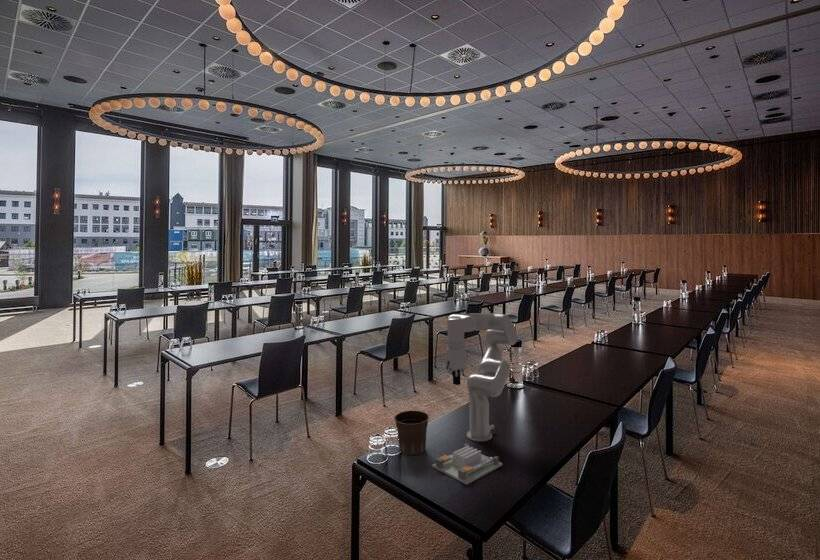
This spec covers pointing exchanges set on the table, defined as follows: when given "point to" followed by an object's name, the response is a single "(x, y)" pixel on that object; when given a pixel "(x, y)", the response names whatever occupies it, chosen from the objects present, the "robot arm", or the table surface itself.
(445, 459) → the strap
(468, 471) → the strap
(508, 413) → the table surface
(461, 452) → the cooler board
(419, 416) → the plant pot
